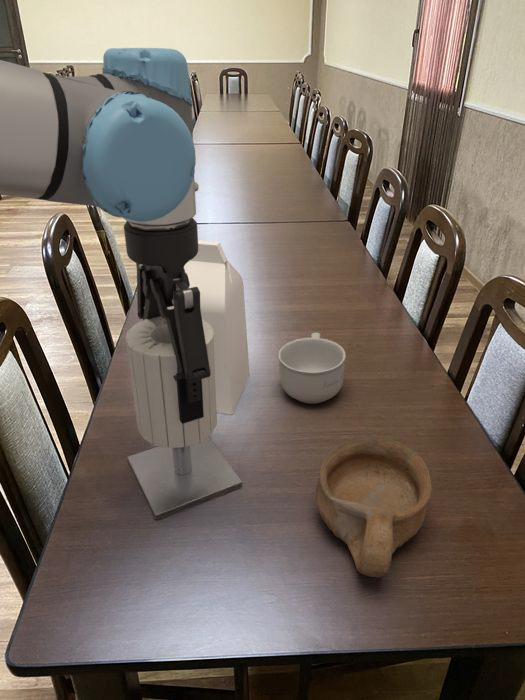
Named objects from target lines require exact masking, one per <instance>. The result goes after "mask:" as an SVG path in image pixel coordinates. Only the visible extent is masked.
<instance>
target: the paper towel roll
mask: <svg viewBox="0 0 525 700" xmlns="http://www.w3.org/2000/svg"><path fill="white" fill-rule="evenodd" d="M202 323H203V329H204V335H205V342H206V348H207V354H208V360H209V367H210V372H211V375H210V377H207V378H204V379H202V394H203V412H204V417H203V418H200V419H196V420H193V421H190V422H187V423H184V424H182V423H181V421H180V417H179V405H178V393H177V381H175V380H174V377H173V376H174V375H176V374H177V373H179V369H178V365H177V361H176V356H175V353H174V349H173V345H172V341H171V337H170V333H169V329H168V325H167V321H166V319H165V318H162V317H161V316H160V317H155V318H151V319H145V320H143V319H142V320H141V321H138V322H137V323H136V324H133V326H131V328H129V329H128V330H127V332H126V334H125V335H126V336H125V345H126V353H127V360H128V368H129V375H130V376H129V377H130V384H131V390H132V397H133V406H134V413H135V417H136V418H135V419H136V428H137V431H138V433H139V435H140V436H141V438H142V439H143V440H145V441H146V442H148V443H149V444H151V445H154V446H155V447H158V446H160V447H164V448H168V447H169V448H180V447H184V445H185V447H187V446H190V445H193V444H196V443H199V441H200V442H201V441H202V440H204V439H205V438H207V437H208V436H211V434H213V432H214V430H215V429H216V426H217V423H218V418H217V417H218V415H217V412H216V386H215V360H214V335H213V329H212V327H211V326H210V325H209V324H208V323H207V322H206V321H205V320H202Z"/></svg>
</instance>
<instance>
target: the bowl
mask: <svg viewBox="0 0 525 700" xmlns="http://www.w3.org/2000/svg"><path fill="white" fill-rule="evenodd" d="M431 479H432V478H431V475H430V472H429V468H428V466H427V465H426V463H425V461H424V460H423V458H422V457H421V456H419V454H418V453H417V452H415V451H414V450H412V449H411V448H410V447H408V446H407V445H404V443H401V442H400V441H398V440H396V439H393V438H387V437H381V436H371V437H365V438H352V439H349V440H346V441H343V442H342V443H341V444H338V445H336V446H335V447H334V448H333V449H332V450H330V451H329V452H328V453H327V454H326V456H324V458H323V460H322V462H321V465H320V467H319V473H318V479H317V483H316V487H315V502H316V503H315V504H316V509H317V511H318V513H319V514H320V517H321V519H322V521H323V522H324V524H326V526H327V528H328V529H329V531H331V532H333V535H334V536H335V537H336V538H338V539H340V540H341V541H342V542H344V544H347V547H348V550H349V552H350V555H351V556H352V559H353V561H354V564H355V567H356V570H357V572H359V574H362V575H364V576H366V577H371V578H382V577H386V576H387V575H388V574H389V571H390V569H391V563H392V559H393V558H392V557H393V554H394V553H395V552H396V550H397V549H398V548H401V547H402V546H403V545H404V544H405V542H408V541H409V540H410V539H411V538H413V537H414V536H415V535H417V533H418V532H419V530H420V529H421V528H422V526H423V523H424V521H425V518H426V515H427V509H428V504H429V502H430V500H431V496H432V490H433V486H432V485H433V484H432V480H431Z"/></svg>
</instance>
